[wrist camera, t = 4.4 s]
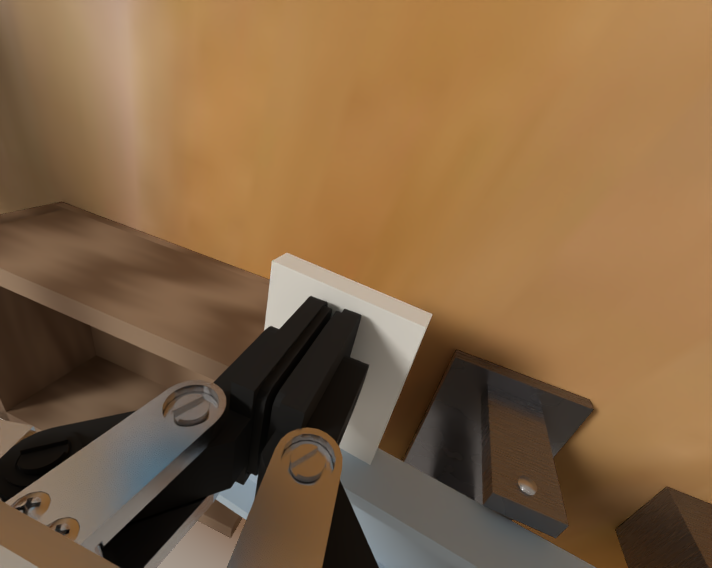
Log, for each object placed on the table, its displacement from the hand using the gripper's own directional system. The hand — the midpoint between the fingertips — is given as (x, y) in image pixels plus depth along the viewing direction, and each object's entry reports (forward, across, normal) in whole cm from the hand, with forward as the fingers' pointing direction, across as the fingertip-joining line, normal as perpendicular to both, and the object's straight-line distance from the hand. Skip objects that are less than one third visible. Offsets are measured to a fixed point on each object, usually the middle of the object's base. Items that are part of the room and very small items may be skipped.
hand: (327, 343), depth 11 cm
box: (+6, +11, +8) cm, 15 cm away
